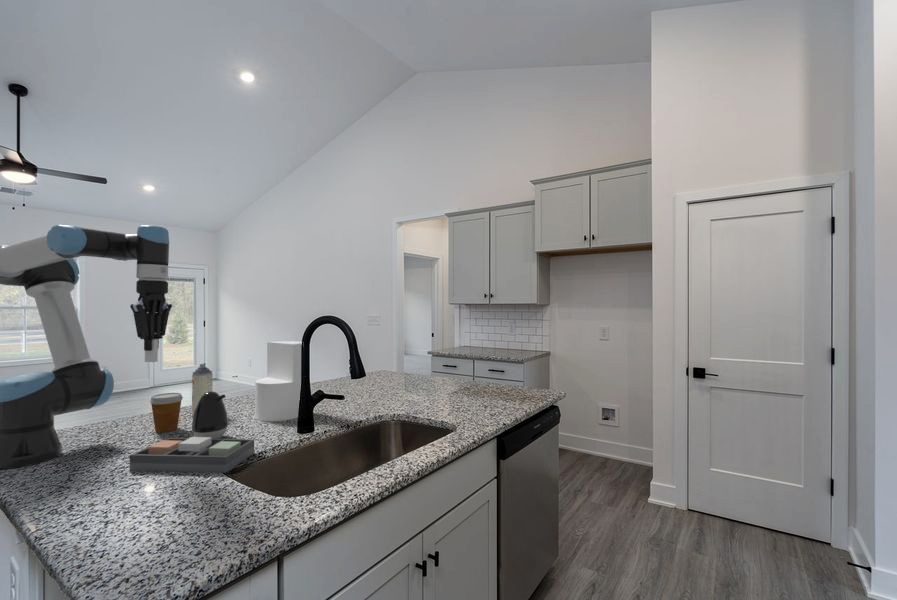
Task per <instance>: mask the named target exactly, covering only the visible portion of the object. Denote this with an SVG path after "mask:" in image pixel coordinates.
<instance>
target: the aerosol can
mask: <svg viewBox="0 0 897 600" xmlns="http://www.w3.org/2000/svg"><path fill="white" fill-rule="evenodd" d="M210 391H213V370H210V368H208V367H207V366H206V364H205V363H200V364H199V366H198V367H197V369H195V371H193V372H192V375H191V396H192V397H191V402H192V403H191V417H192V418H193V417H194V413H195V410H196V407H197V404H198V402H199V400H200V398H201V397H202V395H203V394H205V393H207V392H210Z"/></svg>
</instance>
